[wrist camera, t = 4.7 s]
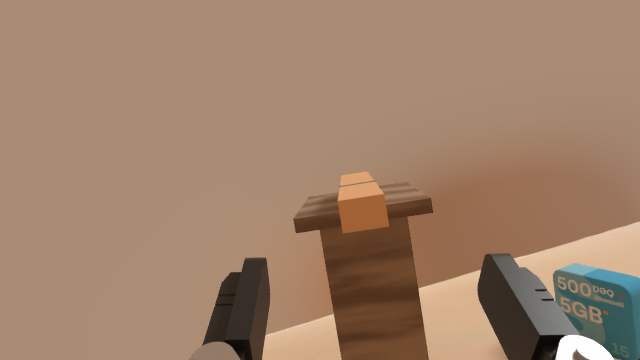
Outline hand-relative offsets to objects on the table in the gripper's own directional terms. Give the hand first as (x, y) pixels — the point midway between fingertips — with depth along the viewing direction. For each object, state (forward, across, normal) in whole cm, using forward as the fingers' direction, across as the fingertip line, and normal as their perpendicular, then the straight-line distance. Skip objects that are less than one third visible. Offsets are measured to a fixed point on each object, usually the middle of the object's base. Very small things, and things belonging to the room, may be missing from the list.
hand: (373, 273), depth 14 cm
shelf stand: (+16, -7, +43) cm, 47 cm away
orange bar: (+24, -2, +12) cm, 27 cm away
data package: (+30, -43, +44) cm, 69 cm away
